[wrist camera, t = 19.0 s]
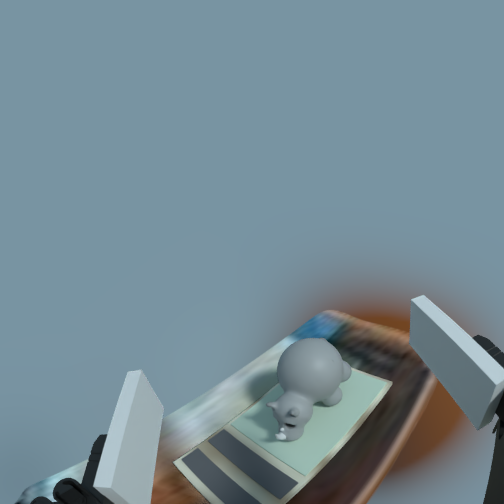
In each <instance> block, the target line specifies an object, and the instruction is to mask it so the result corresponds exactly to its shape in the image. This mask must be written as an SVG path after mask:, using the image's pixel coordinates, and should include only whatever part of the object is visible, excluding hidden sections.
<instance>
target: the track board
mask: <svg viewBox="0 0 504 504" xmlns="http://www.w3.org/2000/svg"><path fill="white" fill-rule="evenodd" d="M351 370H353V371H356V372H358V373H361V374H364V375H367V376H370V377H373V378H376V379H379V380H381V381H384V382H387V384H386V385H385V387H384V388H383V389H382V391H381V392H380V393H379V394H378V396H377V397H376V398H375V400H374V401H373V402H372V403H371V405H370V406H369V407H368V408H367V410H366V411H365V412H364V413H363V415H362V416H361V417H360V418H359V419H358V421H357V422H356V423H355V424H354V425H353V427H352V428H351V429H350V430H349V431H348V432H347V433H346V435H345V436H344V437H343V438H342V439H341V440H340V441H339V442H338V444H337V445H336V446H335V447H334V448H333V449H332V450H331V451H330V452H329V453H328V454H327V455H326V456H325V457H324V458H323V460H322V461H321V462H320V463H319V464H318V465H317V466H316V467H315V468H314V469H313V470H312V471H311V472H310V473H309V474H308V475H307V476H304V475H302V474H301V473H299V472H297V471H296V470H294V469H293V468H291V467H290V466H288V465H287V464H285V463H284V462H282V461H280V460H279V459H277V458H276V457H275V456H273V455H272V454H270V453H269V452H267V451H266V450H264V449H263V448H261V447H260V446H259V445H257V444H256V443H254V442H253V441H252V440H250V439H249V438H248V437H246V436H245V435H244V434H242V433H241V432H239V431H238V430H237V429H236V428H234V427H233V426H232V425H231V423H232V422H233V421H235V420H236V419H237V418H239V417H240V416H241V415H242V414H244V413H245V412H246V411H247V410H249V409H250V408H251V407H252V406H254V405H255V404H256V403H257V402H259V401H260V400H261V399H262V398H263V397H265V396H266V395H267V394H268V393H269V392H271V391H272V390H273V389H274V388H275V387H277V386H278V385H279V382H278V383H277V384H276V385H275V386H274V387H273V388H271V389H270V390H269V391H268V392H267V393H265V394H264V395H263V396H262V397H261V398H259V399H258V400H257V401H256V402H254V403H253V404H252V405H251V406H249V407H248V408H247V409H246V410H244V411H243V412H242V413H241V414H239V415H238V416H237V417H235V418H234V419H233V420H232V421H230V422H229V423H228V424H226V425H225V426H224V427H222V428H221V429H220V430H218V431H217V432H216V433H214V434H213V435H211V436H210V437H209V438H207V439H206V440H205V441H203V442H202V443H200V444H199V445H198V446H196V447H195V448H193V449H192V450H190V451H189V452H187V453H186V454H185V455H183V456H182V457H180V458H179V459H177V460H176V461H174V462H173V463H174V464H175V465H176V466H177V468H178V469H179V470H180V471H181V472H182V473H183V474H184V476H185V477H186V478H187V479H188V480H189V481H190V482H191V483H192V484H193V485H194V486H195V488H196V489H197V490H198V491H199V492H200V493H201V494H202V495H203V496H204V497H205V498H206V499H207V500H208V501H209V502H210V503H211V504H224V503H223V502H222V501H221V500H220V499H219V498H218V497H217V496H216V495H215V494H214V493H213V492H212V491H211V490H210V489H209V488H208V487H207V486H206V485H205V484H204V483H203V482H202V481H201V480H200V479H199V478H198V477H197V476H196V475H195V474H194V473H193V472H192V471H191V470H190V469H189V468H188V466H187V465H186V464H185V463H184V462H183V461H182V460H181V459H182V458H184V457H185V456H187V455H188V454H190V453H191V452H192V451H194V450H195V449H197V448H199V449H200V450H201V451H202V452H203V453H204V454H205V455H206V456H207V457H208V458H209V459H210V460H211V461H212V462H213V463H214V464H215V465H217V466H218V467H219V468H220V469H221V470H222V471H223V472H224V473H225V474H227V475H228V476H229V477H230V478H231V479H232V480H233V481H235V482H236V483H237V484H238V485H239V486H240V487H242V488H243V489H244V490H245V491H246V492H248V493H249V494H250V495H251V496H253V497H254V498H255V499H256V500H258V501H259V502H260V503H261V504H286V503H287V502H288V501H289V500H290V499H291V498H292V497H293V496H294V495H295V494H297V493H298V492H299V491H300V490H301V489H302V488H303V487H304V486H305V485H306V484H307V483H308V482H309V481H310V480H311V479H312V478H313V477H314V476H315V475H316V474H317V473H318V472H319V471H320V470H321V469H322V468H323V467H324V466H325V465H326V464H327V463H328V462H329V461H330V460H331V459H332V458H333V457H334V455H335V454H336V453H337V452H338V451H339V450H340V449H341V448H342V447H343V446H344V444H345V443H346V442H347V441H348V440H349V439H350V438H351V436H352V435H353V434H354V433H355V432H356V431H357V429H358V428H359V427H360V426H361V425H362V423H363V422H364V421H365V420H366V418H367V417H368V416H369V415H370V413H371V412H372V411H373V410H374V408H375V407H376V406H377V404H378V403H379V402H380V400H381V399H382V398H383V396H384V395H385V394H386V392H387V391H388V390H389V388H390V387H391V386H392V382H391V381H388V380H385V379H382V378H379V377H376V376H373V375H370V374H367V373H364V372H362V371H359V370H356V369H353V368H351ZM223 429H225V430H226V431H227V432H229V433H230V434H231V435H232V436H234V437H235V438H236V439H238V440H239V441H240V442H241V443H243V444H244V445H245V446H247V447H248V448H249V449H251V450H252V451H253V452H255V453H256V454H257V455H259V456H260V457H262V458H263V459H264V460H266V461H267V462H269V463H270V464H271V465H273V466H274V467H276V468H277V469H279V470H280V471H282V472H283V473H285V474H286V475H288V476H289V477H291V478H292V479H294V480H295V481H297V482H298V484H297V485H296V486H295V487H294V488H293V489H292V490H291V491H289V492H288V493H287V494H286V495H285V496H284V497H283V498H282V499H279V498H277V497H276V496H274V495H273V494H272V493H270V492H269V491H268V490H266V489H265V488H264V487H262V486H261V485H260V484H258V483H257V482H256V481H254V480H253V479H252V478H251V477H249V476H248V475H247V474H246V473H244V472H243V471H242V470H241V469H239V468H238V467H237V466H236V465H235V464H233V463H232V462H231V461H230V460H229V459H228V458H226V457H225V456H224V455H223V454H222V453H221V452H219V451H218V450H217V449H216V448H215V447H214V446H213V445H212V444H210V443H209V442H208V440H209V439H211V438H212V437H213V436H215V435H216V434H218V433H219V432H220V431H222V430H223Z"/></svg>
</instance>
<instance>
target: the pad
mask: <svg viewBox="0 0 504 504" xmlns="http://www.w3.org/2000/svg"><path fill="white" fill-rule="evenodd" d="M386 384H387V382H384V381H381V380H379V379H376V378H373V377H370V376H367V375H364V374H361V373H358V372H356V371H353V370H352V373H351V376H350V378H349V379H348V380H347V381H345V382H342V383H340V385H339V388H340V389H341V391H342V394H343V396H342V399H341V401H340V402H339V403H338V404H336V405H334V406H327V405H325V404H324V403H323V402H322V401H319V402H316V403H314V404H313V415H312V417H311V419H310V420H309V422H308V423H307V424H306V425H305V427H304V433H303V435H302V436H301V437H300V438H299V439H297V440H295V441H286V440H278V439H276V437H275V434H278V421H277V420H276V419H275V418H274V417H273V411H272V408H271V407H267V406H266V403H268V402H275V401H276V400H277V399H278V397H280V396H281V395H282V394H283V393H284V390H283V389H282V387H281V386H280V384H279V385H278V386H277V387H275V388H274V389H273V390H272V391H271V392H269V393H268V394H267V395H266V396H265V397H263V398H262V399H261V400H260V401H259V402H257V403H256V404H255V405H254V406H252V407H251V408H250V409H249V410H247V411H246V412H245V413H244V414H242V415H241V416H240V417H239V418H237V419H236V420H235V421H233V422H232V423H231V425H232V426H233V427H234V428H236V429H237V430H238V431H239V432H241V433H242V434H244V435H245V436H246V437H248V438H249V439H250V440H252V441H253V442H254V443H256V444H257V445H259V446H260V447H261V448H263V449H264V450H266V451H267V452H269V453H270V454H272V455H273V456H275V457H276V458H277V459H279V460H280V461H282V462H284V463H285V464H287V465H288V466H290V467H291V468H293V469H294V470H296V471H297V472H299V473H301V474H302V475H304V476H307V475H308V474H309V473H310V472H311V471H312V470H313V469H314V468H315V467H316V466H317V465H318V464H319V463H320V462H321V461H322V460H323V458H324V457H325V456H326V455H327V454H328V453H329V452H330V451H331V450H332V449H333V448H334V447H335V446H336V445H337V444H338V442H339V441H340V440H341V439H342V438H343V437H344V436H345V435H346V433H347V432H348V431H349V430H350V429H351V428H352V427H353V425H354V424H355V423H356V422H357V421H358V419H359V418H360V417H361V416H362V415H363V413H364V412H365V411H366V410H367V408H368V407H369V406H370V405H371V403H372V402H373V401H374V400H375V398H376V397H377V396H378V394H379V393H380V392H381V391H382V389H383V388H384V387H385V385H386Z"/></svg>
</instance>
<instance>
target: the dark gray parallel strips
mask: <svg viewBox="0 0 504 504" xmlns="http://www.w3.org/2000/svg"><path fill="white" fill-rule="evenodd" d="M208 442H209V443H210V444H212V445H213V446H214V447H215V448H216V449H217V450H218V451H219V452H221V453H222V454H223V455H224V456H225V457H226V458H228V459H229V460H230V461H231V462H232V463H233V464H235V465H236V466H237V467H238V468H239V469H241V470H242V471H243V472H244V473H246V474H247V475H248V476H249V477H251V478H252V479H253V480H254V481H256V482H257V483H258V484H260V485H261V486H262V487H264V488H265V489H266V490H268V491H269V492H270V493H272V494H273V495H274V496H276V497H277V498H279V499H282V498H283V497H284V496H285V495H286V494H287V493H288V492H289V491H291V490H292V489H293V488H294V487H295V486H296V485H297V484H298V482H297V481H295V480H294V479H292V478H291V477H289V476H288V475H286V474H285V473H283V472H282V471H280V470H279V469H277V468H276V467H274V466H273V465H271V464H270V463H269V462H267V461H266V460H264V459H263V458H262V457H260V456H259V455H257V454H256V453H255V452H253V451H252V450H251V449H249V448H248V447H247V446H245V445H244V444H243V443H241V442H240V441H239V440H238V439H236V438H235V437H234V436H232V435H231V434H230V433H229V432H227V431H226V430H225V429H223V430H222V431H220V432H219V433H218V434H216V435H215V436H213V437H212V438H211V439H209V440H208ZM181 460H182V461H183V462H184V463H185V464H186V465H187V466H188V468H189V469H190V470H191V471H192V472H193V473H194V474H195V475H196V476H197V477H198V478H199V479H200V480H201V481H202V482H203V483H204V484H205V485H206V486H207V487H208V488H209V489H210V490H211V491H212V492H213V493H214V494H215V495H216V496H217V497H218V498H219V499H220V500H221V501H222V502H223V503H224V504H261V503H260V502H259V501H258V500H256V499H255V498H254V497H253V496H251V495H250V494H249V493H248V492H246V491H245V490H244V489H243V488H242V487H240V486H239V485H238V484H237V483H236V482H235V481H233V480H232V479H231V478H230V477H229V476H228V475H227V474H225V473H224V472H223V471H222V470H221V469H220V468H219V467H218V466H217V465H215V464H214V463H213V462H212V461H211V460H210V459H209V458H208V457H207V456H206V455H205V454H204V453H203V452H202V451H201V450H200V449H199V448H197V449H195V450H194V451H192V452H191V453H190V454H188V455H187V456H185V457H184V458H182V459H181Z"/></svg>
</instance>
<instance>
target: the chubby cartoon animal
mask: <svg viewBox="0 0 504 504" xmlns="http://www.w3.org/2000/svg"><path fill="white" fill-rule="evenodd" d="M351 373H352V370H351V367H350V365H349V364H348V363H347V362H345V361H343V360H342V358H341V356H340V354H339V352H338V351H337V350H336V348H335V347H334V346H332V345H331V344H330V343H328V342H327V340H326V339H324V338H318V339H316V338H307V339H302V340H299V341H297V342H295V343H293V344H291V345H290V346H289V347H288V348H287V349H286V350H285V351H284V352H283V354H282V355H281V357H280V359H279V362H278V366H277V377H278V381H279V384H280V386H281V387H282V389H283V390H284V393H283V394H282V395H281V396H280V397H278V399H277V400H276V401H275V402H268V403H266V406H267V407H271V408H272V411H273V417H274V418H275V419H276V420H277V421H278V434H275V437H276V439H278V440H286V441H295V440H297V439H299V438H300V437H301V436H302V435H303V433H304V427H305V425H306V424H307V423H308V422H309V420H310V419H311V417H312V415H313V404H314V403H316V402H319V401H322V402H323V403H324V404H325V405H327V406H334V405H336V404H338V403H339V402H340V401H341V399H342V396H343V394H342V391H341V389H340V388H339V385H340V383H342V382H345V381H347V380H348V379H349V378H350V376H351Z"/></svg>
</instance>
